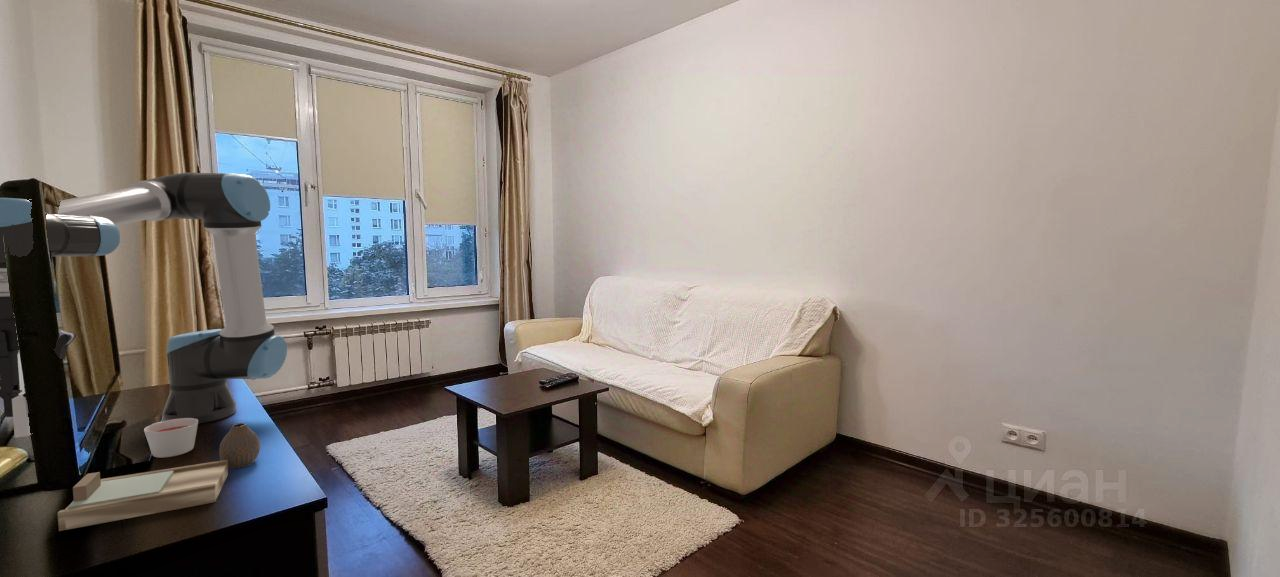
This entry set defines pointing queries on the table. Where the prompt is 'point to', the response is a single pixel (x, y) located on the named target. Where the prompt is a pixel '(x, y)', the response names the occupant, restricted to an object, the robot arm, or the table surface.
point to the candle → (171, 437)
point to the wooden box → (154, 496)
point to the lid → (116, 488)
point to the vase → (239, 446)
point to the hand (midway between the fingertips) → (25, 434)
